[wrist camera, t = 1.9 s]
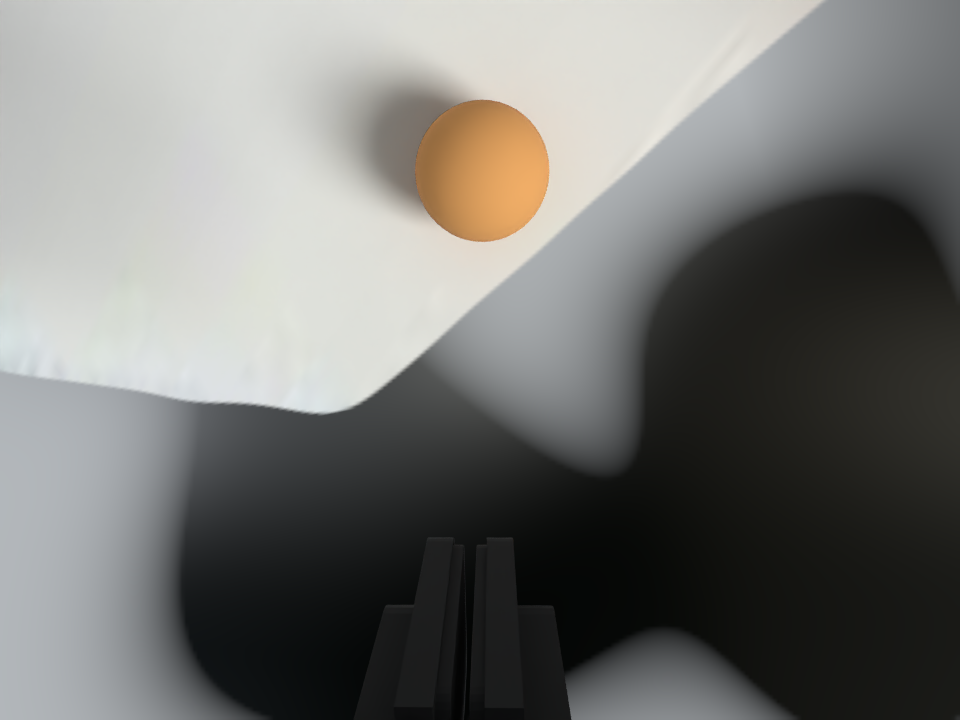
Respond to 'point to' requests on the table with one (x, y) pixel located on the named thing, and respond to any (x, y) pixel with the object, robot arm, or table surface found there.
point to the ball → (482, 170)
